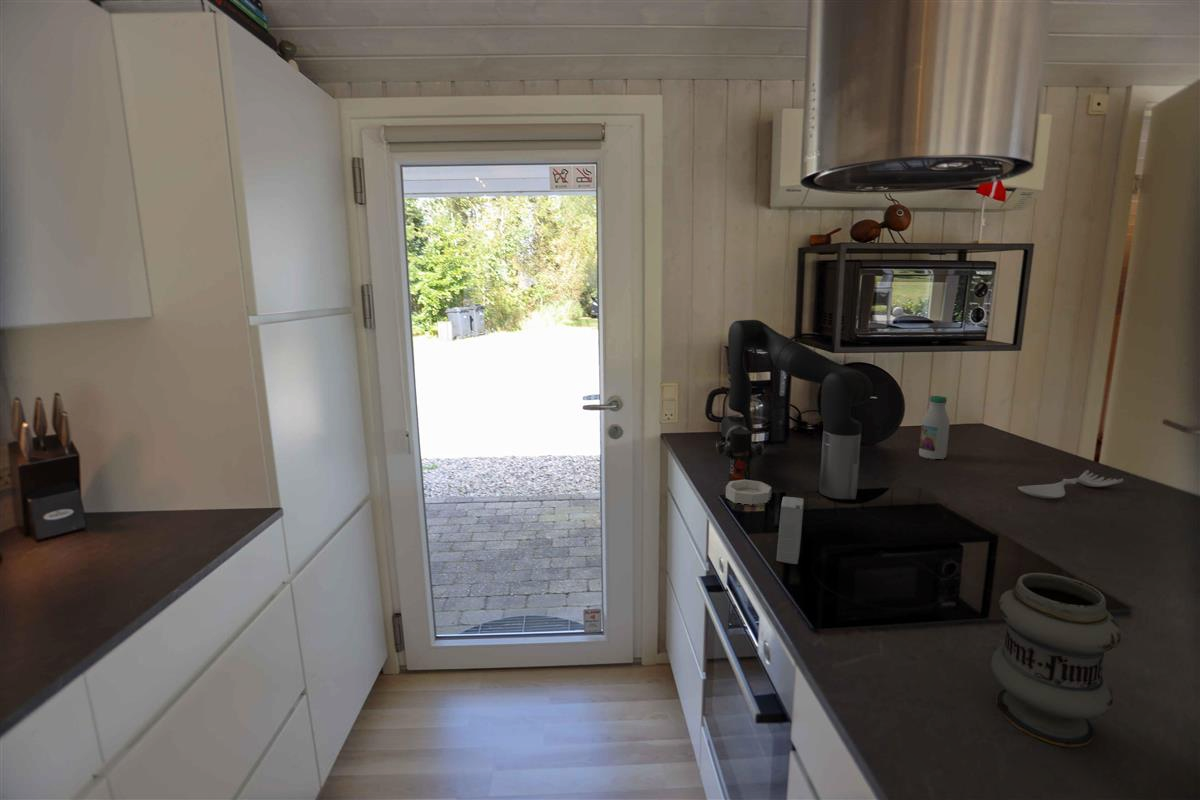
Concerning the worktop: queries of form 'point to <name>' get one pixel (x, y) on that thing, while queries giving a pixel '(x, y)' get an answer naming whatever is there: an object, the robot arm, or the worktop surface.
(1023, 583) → the apothecary jar
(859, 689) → the worktop surface
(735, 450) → the deodorant
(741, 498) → the dish
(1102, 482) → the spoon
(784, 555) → the skincare box
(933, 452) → the milk bottle
